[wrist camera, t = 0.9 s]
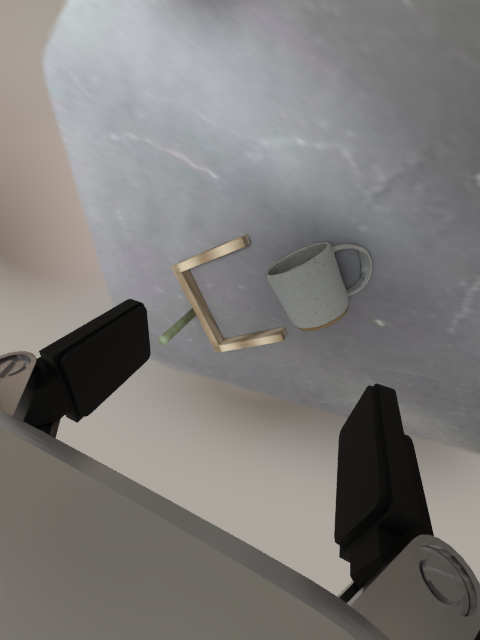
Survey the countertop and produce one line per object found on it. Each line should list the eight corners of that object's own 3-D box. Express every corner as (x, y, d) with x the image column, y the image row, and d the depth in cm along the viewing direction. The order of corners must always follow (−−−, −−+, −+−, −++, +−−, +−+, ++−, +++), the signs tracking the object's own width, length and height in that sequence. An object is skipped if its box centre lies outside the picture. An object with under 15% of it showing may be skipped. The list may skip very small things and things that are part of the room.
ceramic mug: (298, 313, 35) (289, 343, 29) (272, 261, 33) (257, 281, 27) (380, 286, 30) (391, 315, 24) (357, 221, 28) (362, 235, 21)
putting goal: (246, 234, 32) (214, 254, 24) (286, 333, 37) (270, 378, 29) (172, 265, 39) (127, 289, 30) (215, 347, 44) (185, 386, 36)
